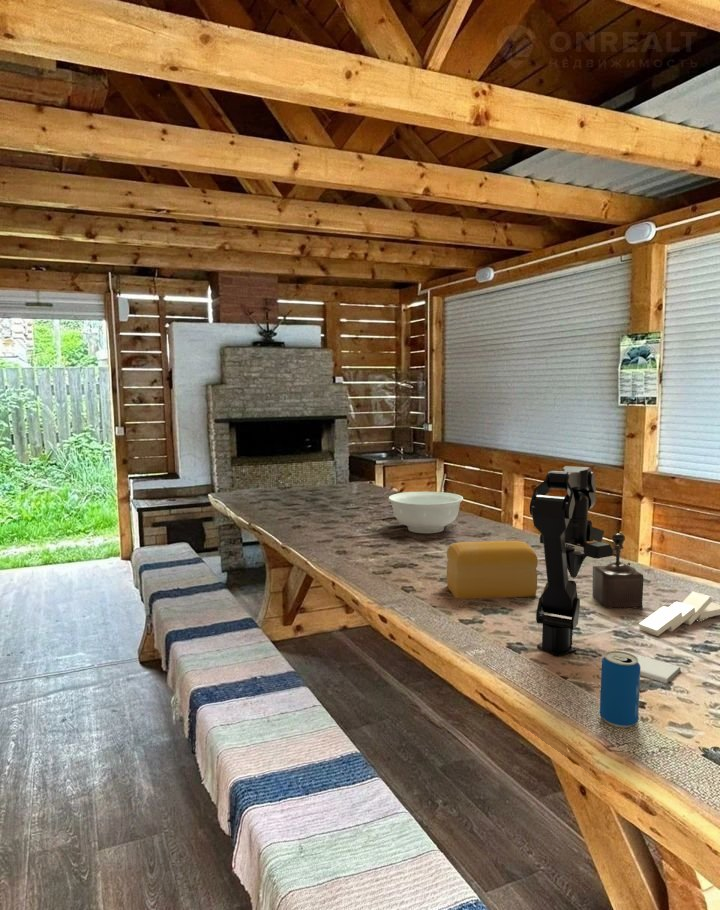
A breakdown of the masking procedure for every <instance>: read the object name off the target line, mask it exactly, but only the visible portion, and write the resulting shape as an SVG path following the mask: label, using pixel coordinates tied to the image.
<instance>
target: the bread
mask: <svg viewBox="0 0 720 910" xmlns="http://www.w3.org/2000/svg"><path fill="white" fill-rule="evenodd" d="M446 559H447V563H446V585H447V588H448V589H449V591H450V593H451V594H452V595H453V596H454V598H456V599H463V600H464V599H489V598H491V599H492V598H493V599H496V598H518V597H519V598H523V597H524V598H525V597H535V596H536V595H537V592H538V591H537V590H538V571H537V568H538V564H539V560H538V556H537V554H536V552H535V550H534V549H533V548H532V547H531V546H530V545H529V544H528V543H526V542H524V541H520V540H497V541H496V540H492V541H491V540H490V541H463V542H462V541H461V542H455V543H452V544H450V545H449V546H448V547H447V550H446Z"/></svg>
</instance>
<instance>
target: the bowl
mask: <svg viewBox="0 0 720 910" xmlns="http://www.w3.org/2000/svg"><path fill="white" fill-rule="evenodd" d="M388 501H389V502H390V504H391V506H392V511H393V515H394V517H395V518H396V519H397V521H398V522H399V523H401V524H402V525H404V526H407V529H408V531H409V532H412V533H417V534H437V533H441V532H443V531H444V529H445V526H449V524H451V523H453V522H454V520H455V519H456V518H457V517H458V514H459V511H460V505H461V503H462V502H463V501H464V496H462V495H460V494H457V493H452V492H442V491H407V492H399V493H395V494H394V493H393V494H391V495H389V497H388Z"/></svg>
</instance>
